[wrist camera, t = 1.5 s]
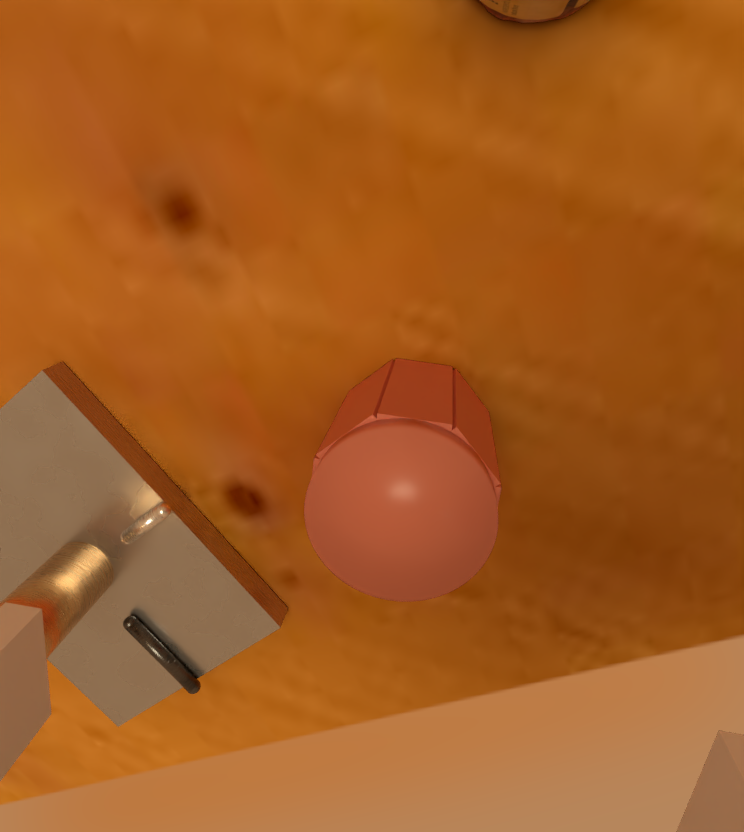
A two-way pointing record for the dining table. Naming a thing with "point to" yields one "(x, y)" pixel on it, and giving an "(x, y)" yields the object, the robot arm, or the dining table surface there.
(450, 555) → the wire nut
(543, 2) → the sauce bottle
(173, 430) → the dining table surface
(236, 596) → the plate
